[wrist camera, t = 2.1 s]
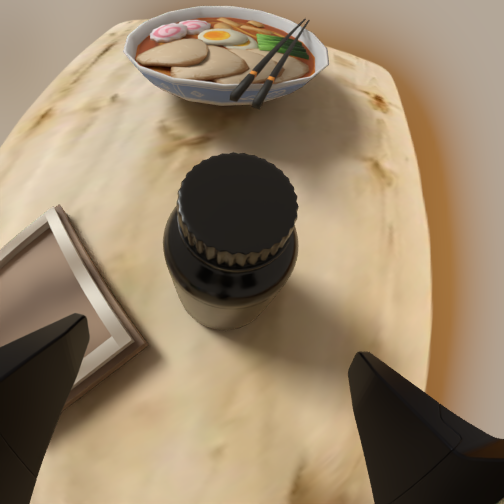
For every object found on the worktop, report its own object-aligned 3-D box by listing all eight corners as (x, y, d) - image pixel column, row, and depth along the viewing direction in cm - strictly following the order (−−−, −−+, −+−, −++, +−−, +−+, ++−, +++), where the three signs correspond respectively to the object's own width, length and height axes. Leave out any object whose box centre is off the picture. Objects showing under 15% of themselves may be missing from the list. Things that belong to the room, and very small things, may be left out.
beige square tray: (148, 345, 19) (142, 341, 17) (28, 436, 14) (13, 440, 12) (65, 212, 22) (56, 198, 20) (-34, 299, 17) (-48, 292, 15)
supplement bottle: (197, 233, 24) (196, 117, 13) (278, 263, 24) (337, 165, 13) (163, 312, 21) (119, 240, 10) (251, 345, 21) (304, 308, 10)
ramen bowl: (191, 34, 38) (194, -8, 30) (327, 72, 37) (343, 29, 30) (86, 121, 27) (70, 63, 20) (279, 185, 27) (305, 119, 19)
